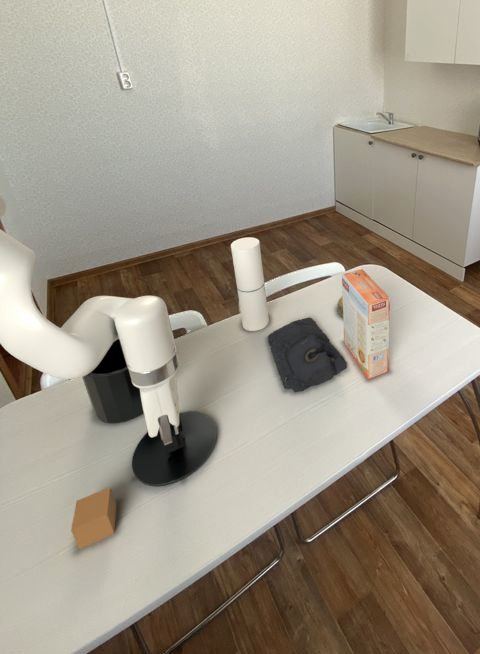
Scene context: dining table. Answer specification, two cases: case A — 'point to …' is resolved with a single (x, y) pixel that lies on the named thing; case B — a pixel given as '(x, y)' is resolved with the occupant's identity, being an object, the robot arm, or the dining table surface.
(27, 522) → the dining table surface
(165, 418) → the robot arm
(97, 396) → the trash can
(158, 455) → the bin lid
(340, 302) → the cake
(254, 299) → the cylindrical container
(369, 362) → the cracker box
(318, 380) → the black fabric pouch
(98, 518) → the cube
